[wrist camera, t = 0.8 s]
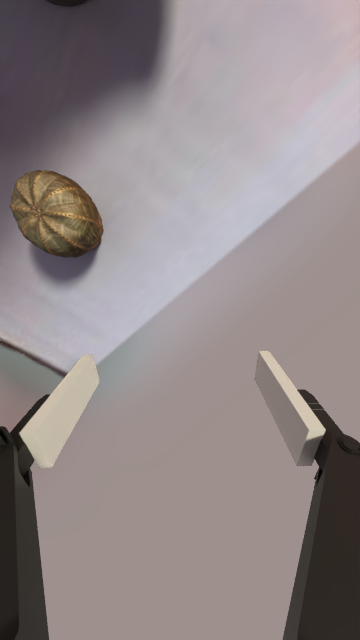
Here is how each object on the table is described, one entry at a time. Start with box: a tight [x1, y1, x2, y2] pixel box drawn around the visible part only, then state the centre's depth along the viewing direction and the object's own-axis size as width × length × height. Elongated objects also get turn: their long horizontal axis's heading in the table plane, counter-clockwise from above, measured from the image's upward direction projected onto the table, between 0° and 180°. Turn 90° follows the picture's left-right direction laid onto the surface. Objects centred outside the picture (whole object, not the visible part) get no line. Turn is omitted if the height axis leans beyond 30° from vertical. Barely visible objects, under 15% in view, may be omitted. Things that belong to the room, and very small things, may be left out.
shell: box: [10, 170, 104, 257], centre depth 29 cm, size 11×11×12 cm
